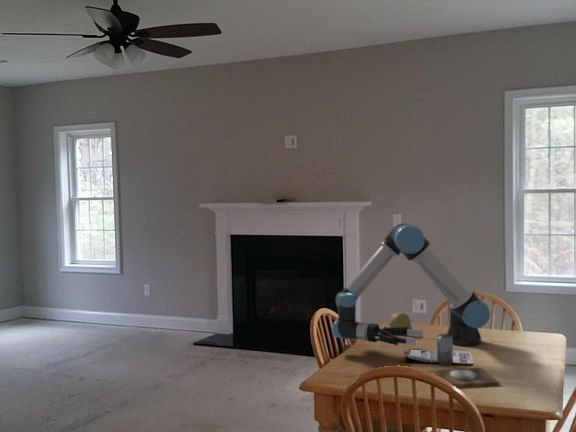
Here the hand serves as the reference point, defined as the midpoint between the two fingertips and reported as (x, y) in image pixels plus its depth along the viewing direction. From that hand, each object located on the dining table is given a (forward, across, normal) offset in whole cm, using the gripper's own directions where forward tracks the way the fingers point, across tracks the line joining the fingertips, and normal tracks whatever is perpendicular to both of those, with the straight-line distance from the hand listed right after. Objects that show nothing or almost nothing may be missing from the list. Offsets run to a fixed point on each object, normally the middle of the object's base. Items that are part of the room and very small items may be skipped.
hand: (418, 337), depth 224 cm
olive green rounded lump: (-18, -40, -10) cm, 45 cm away
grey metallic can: (+10, 0, -10) cm, 14 cm away
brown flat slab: (+20, +16, -10) cm, 27 cm away
